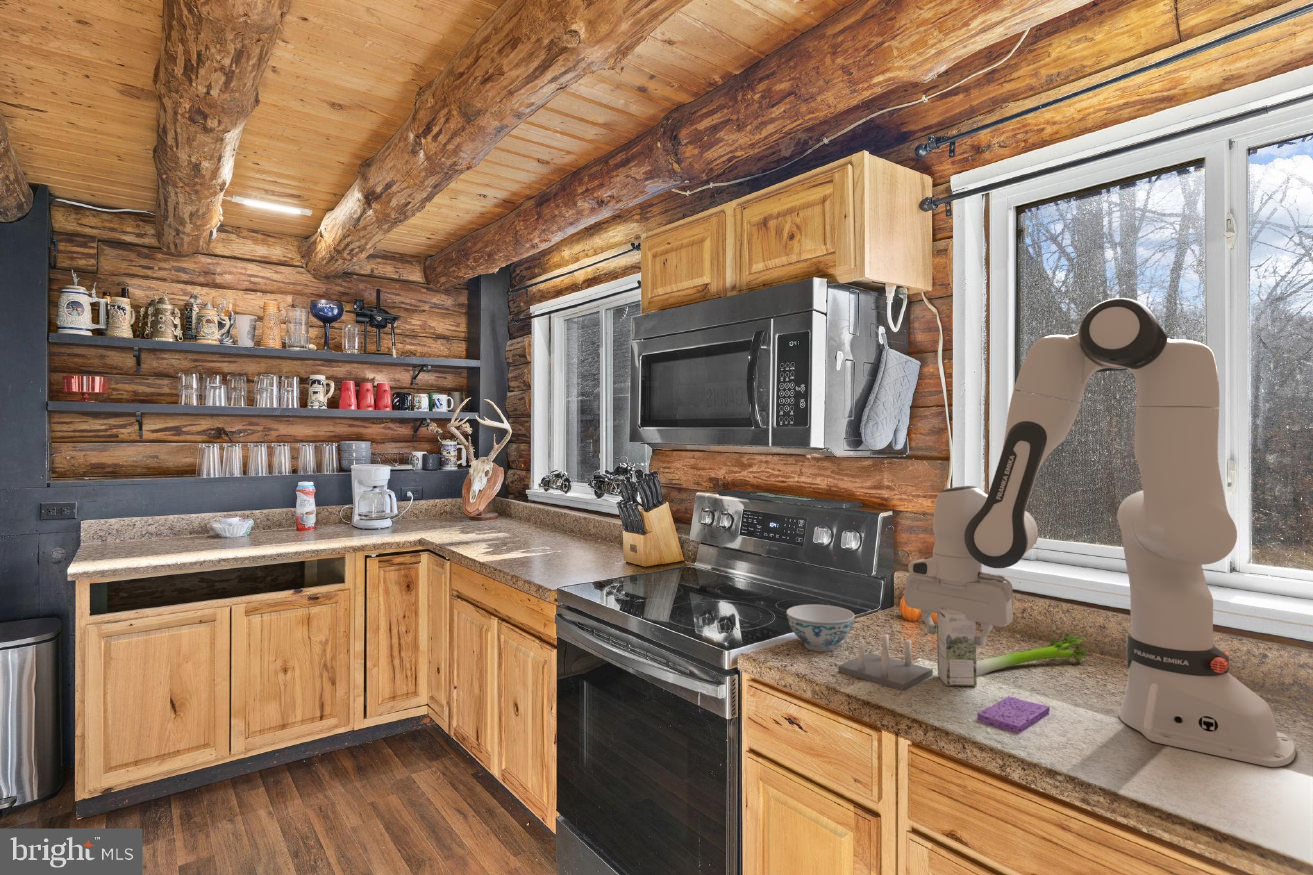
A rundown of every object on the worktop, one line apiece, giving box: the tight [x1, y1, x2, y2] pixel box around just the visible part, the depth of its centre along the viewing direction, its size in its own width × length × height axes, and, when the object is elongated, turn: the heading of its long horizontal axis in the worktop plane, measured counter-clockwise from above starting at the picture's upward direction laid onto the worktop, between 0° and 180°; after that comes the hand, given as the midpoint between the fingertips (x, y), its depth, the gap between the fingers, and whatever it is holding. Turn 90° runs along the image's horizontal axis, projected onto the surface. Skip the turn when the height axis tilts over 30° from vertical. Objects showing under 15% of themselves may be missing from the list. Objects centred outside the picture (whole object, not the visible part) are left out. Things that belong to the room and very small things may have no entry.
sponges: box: [976, 695, 1051, 734], centre depth 120 cm, size 7×13×2 cm, turn 130°
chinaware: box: [786, 604, 855, 652], centre depth 159 cm, size 15×15×8 cm
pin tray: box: [837, 634, 934, 691], centre depth 141 cm, size 14×12×6 cm
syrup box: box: [936, 608, 978, 687], centre depth 136 cm, size 6×6×14 cm
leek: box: [976, 633, 1089, 677], centre depth 145 cm, size 6×7×30 cm
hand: (955, 639), depth 137 cm, fingers open, 8 cm apart
